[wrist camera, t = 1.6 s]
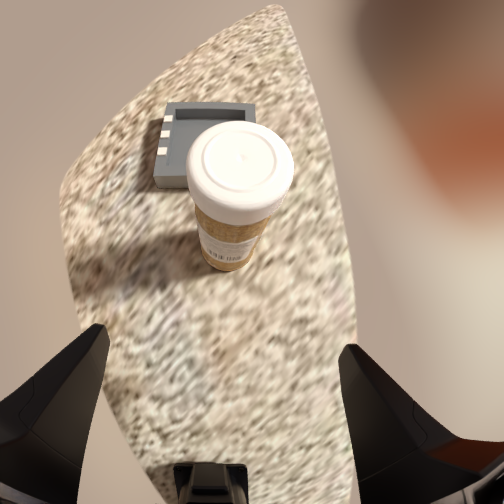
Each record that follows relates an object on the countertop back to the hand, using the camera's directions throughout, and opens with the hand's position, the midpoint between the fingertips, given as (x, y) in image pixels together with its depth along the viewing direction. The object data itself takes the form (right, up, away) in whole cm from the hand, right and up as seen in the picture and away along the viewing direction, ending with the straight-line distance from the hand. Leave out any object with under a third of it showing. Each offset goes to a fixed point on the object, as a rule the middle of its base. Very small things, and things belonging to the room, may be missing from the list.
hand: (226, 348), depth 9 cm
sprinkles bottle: (-1, +4, +14) cm, 15 cm away
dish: (-4, +14, +16) cm, 22 cm away
